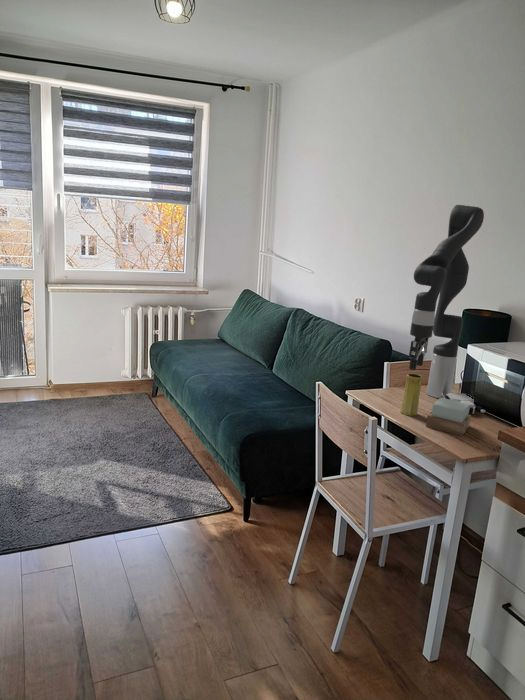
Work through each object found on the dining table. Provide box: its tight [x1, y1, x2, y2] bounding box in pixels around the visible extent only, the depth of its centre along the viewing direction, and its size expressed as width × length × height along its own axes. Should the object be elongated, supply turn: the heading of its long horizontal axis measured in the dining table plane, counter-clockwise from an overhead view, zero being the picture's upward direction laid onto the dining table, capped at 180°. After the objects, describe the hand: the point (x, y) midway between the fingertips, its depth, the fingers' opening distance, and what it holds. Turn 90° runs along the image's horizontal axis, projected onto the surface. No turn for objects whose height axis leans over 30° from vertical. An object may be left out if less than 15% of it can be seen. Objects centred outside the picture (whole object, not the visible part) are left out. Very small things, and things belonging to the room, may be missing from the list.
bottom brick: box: [425, 411, 472, 437], centre depth 191 cm, size 12×12×4 cm
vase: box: [400, 373, 423, 417], centre depth 200 cm, size 6×6×14 cm
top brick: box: [431, 398, 470, 423], centre depth 190 cm, size 10×10×4 cm
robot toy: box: [442, 392, 486, 415], centre depth 211 cm, size 12×4×15 cm
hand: (415, 367), depth 198 cm, fingers open, 8 cm apart
